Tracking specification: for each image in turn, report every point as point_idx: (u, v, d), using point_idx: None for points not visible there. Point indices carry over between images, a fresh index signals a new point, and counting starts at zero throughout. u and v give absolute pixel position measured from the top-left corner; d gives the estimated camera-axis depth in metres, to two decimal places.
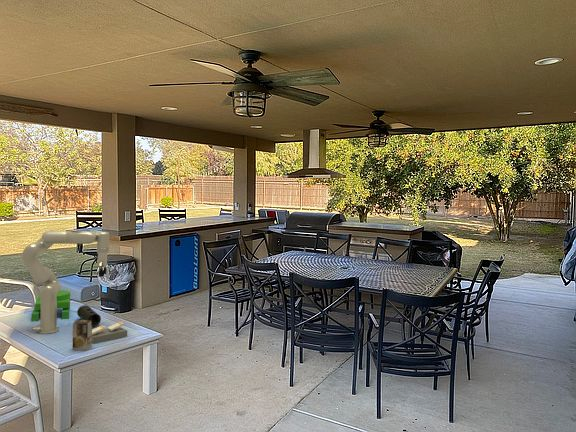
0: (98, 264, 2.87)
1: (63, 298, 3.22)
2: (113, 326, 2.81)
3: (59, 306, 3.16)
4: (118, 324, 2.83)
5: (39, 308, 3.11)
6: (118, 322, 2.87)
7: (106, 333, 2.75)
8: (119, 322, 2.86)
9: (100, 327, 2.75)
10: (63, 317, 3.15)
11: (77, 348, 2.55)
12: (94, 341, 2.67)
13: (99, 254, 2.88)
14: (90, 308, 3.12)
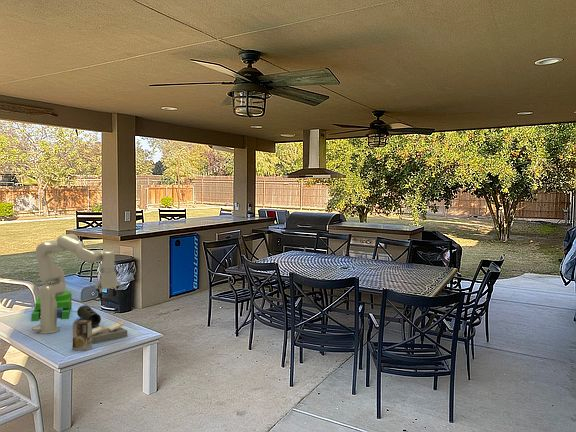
0: None
1: (63, 298, 3.22)
2: (113, 326, 2.81)
3: (59, 306, 3.16)
4: (118, 324, 2.83)
5: (39, 308, 3.11)
6: (118, 322, 2.87)
7: (106, 333, 2.75)
8: (119, 322, 2.86)
9: (100, 327, 2.75)
10: (63, 317, 3.15)
11: (77, 348, 2.55)
12: (94, 341, 2.67)
13: (115, 273, 2.79)
14: (90, 308, 3.12)
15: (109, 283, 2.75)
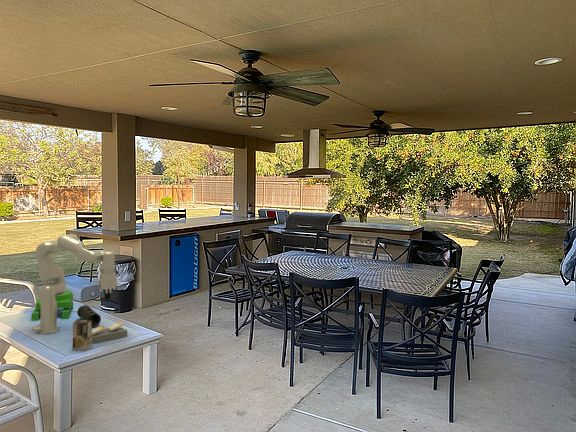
0: None
1: (64, 298, 3.22)
2: (113, 326, 2.81)
3: (59, 306, 3.16)
4: (118, 324, 2.83)
5: (39, 308, 3.12)
6: (118, 322, 2.87)
7: (106, 333, 2.75)
8: (119, 322, 2.86)
9: (100, 327, 2.75)
10: (63, 317, 3.15)
11: (77, 348, 2.55)
12: (94, 341, 2.67)
13: (115, 273, 2.79)
14: (90, 308, 3.12)
15: (109, 283, 2.75)
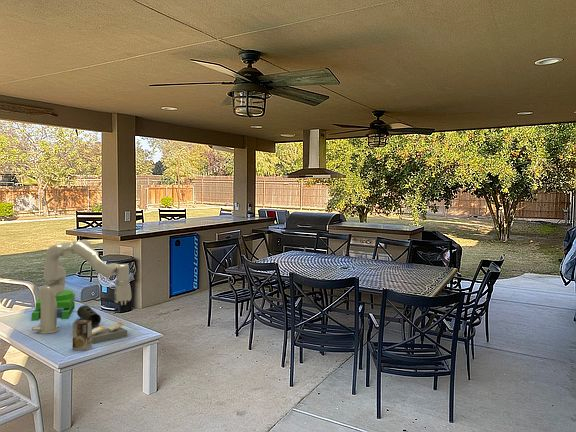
0: None
1: (64, 298, 3.23)
2: (113, 326, 2.81)
3: (59, 306, 3.16)
4: (118, 324, 2.83)
5: (40, 307, 3.12)
6: (118, 322, 2.87)
7: (106, 333, 2.75)
8: (119, 322, 2.86)
9: (100, 327, 2.75)
10: (63, 317, 3.15)
11: (77, 348, 2.55)
12: (94, 341, 2.67)
13: None
14: (90, 308, 3.12)
15: (124, 295, 2.83)
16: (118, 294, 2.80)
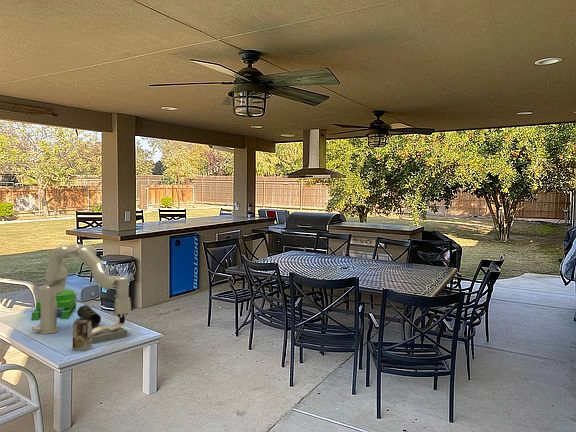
0: None
1: (65, 298, 3.23)
2: (113, 326, 2.81)
3: (59, 306, 3.17)
4: (118, 324, 2.83)
5: (40, 307, 3.13)
6: (118, 322, 2.87)
7: (106, 333, 2.75)
8: (119, 322, 2.86)
9: (100, 327, 2.75)
10: (62, 317, 3.15)
11: (77, 348, 2.55)
12: (94, 341, 2.67)
13: (129, 298, 2.87)
14: (90, 308, 3.12)
15: (124, 308, 2.83)
16: (118, 307, 2.80)
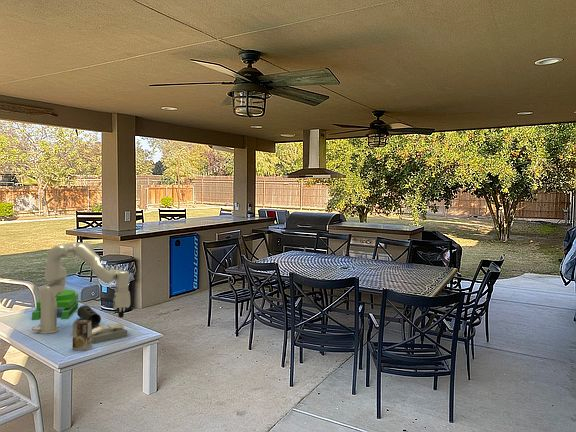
0: None
1: (65, 298, 3.23)
2: (113, 325, 2.82)
3: (60, 306, 3.17)
4: (118, 325, 2.84)
5: (40, 307, 3.14)
6: (118, 324, 2.87)
7: (106, 333, 2.75)
8: (119, 324, 2.86)
9: (100, 327, 2.75)
10: (62, 317, 3.15)
11: (77, 348, 2.55)
12: (94, 341, 2.67)
13: (129, 292, 2.87)
14: (90, 308, 3.12)
15: (123, 302, 2.83)
16: (117, 301, 2.80)
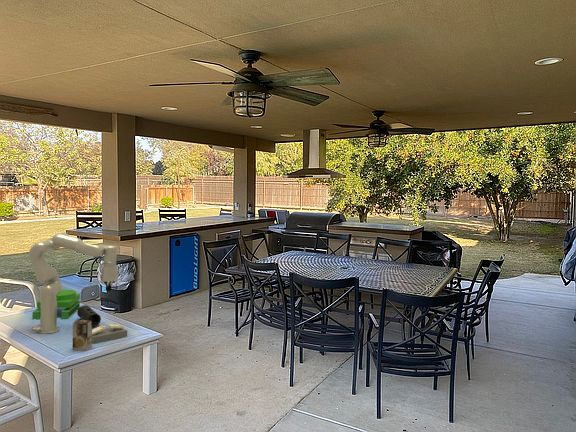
0: None
1: (66, 298, 3.23)
2: (113, 325, 2.82)
3: (60, 306, 3.17)
4: (118, 325, 2.84)
5: None
6: None
7: (106, 333, 2.75)
8: None
9: (100, 327, 2.75)
10: (62, 317, 3.15)
11: (77, 348, 2.55)
12: (94, 341, 2.67)
13: None
14: (90, 308, 3.12)
15: (110, 276, 2.89)
16: (104, 274, 2.86)
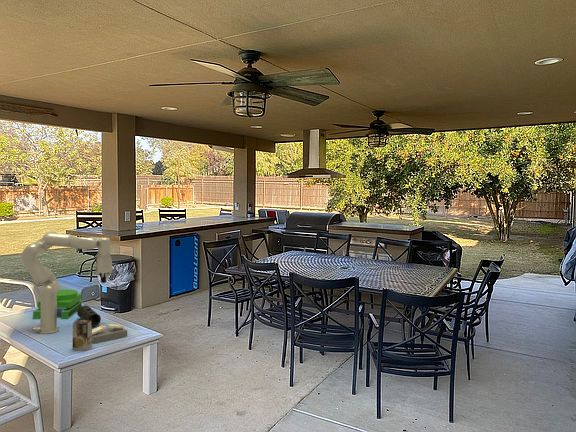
0: None
1: (66, 298, 3.23)
2: (113, 325, 2.82)
3: (60, 306, 3.17)
4: (118, 325, 2.84)
5: None
6: None
7: (106, 333, 2.75)
8: None
9: (100, 327, 2.75)
10: (62, 317, 3.15)
11: (77, 348, 2.55)
12: (94, 341, 2.67)
13: None
14: (90, 308, 3.12)
15: (105, 268, 2.92)
16: (99, 266, 2.89)
